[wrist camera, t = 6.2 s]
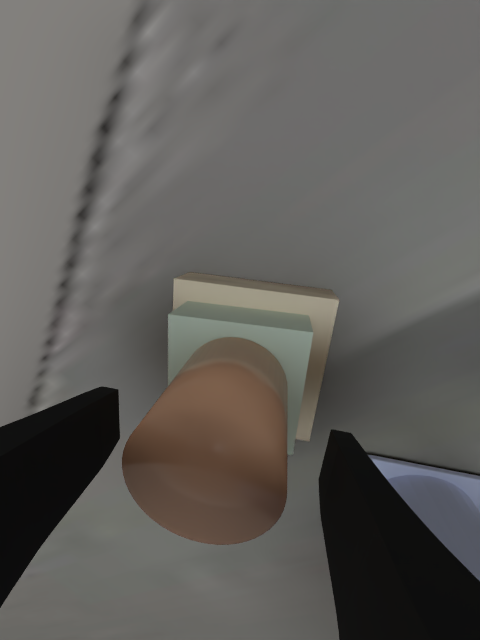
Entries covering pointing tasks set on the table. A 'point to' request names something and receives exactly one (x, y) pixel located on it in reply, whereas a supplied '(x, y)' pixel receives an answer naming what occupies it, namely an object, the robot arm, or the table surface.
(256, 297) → the tower base
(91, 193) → the table surface
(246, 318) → the tower top
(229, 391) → the terracotta cylinder
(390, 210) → the table surface
